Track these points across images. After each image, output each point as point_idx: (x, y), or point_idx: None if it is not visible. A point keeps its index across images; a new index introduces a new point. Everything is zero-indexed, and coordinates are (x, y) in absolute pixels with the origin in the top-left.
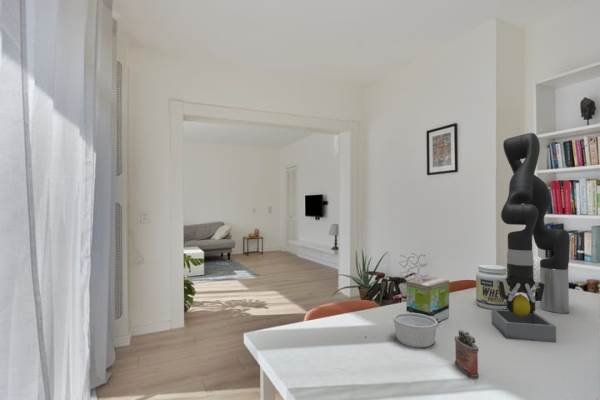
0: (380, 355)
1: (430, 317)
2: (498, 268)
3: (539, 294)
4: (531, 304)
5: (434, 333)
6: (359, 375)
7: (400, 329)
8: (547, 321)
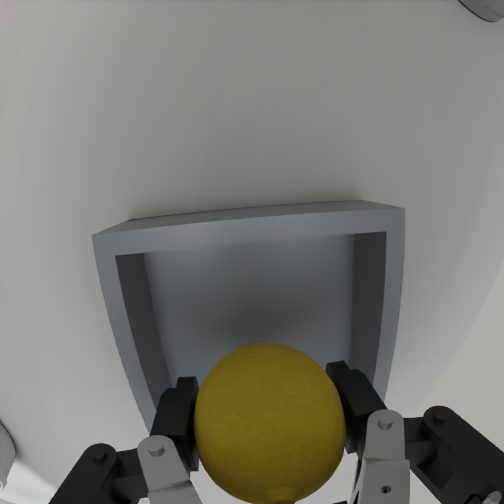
0: None
1: None
2: None
3: (436, 487)
4: (346, 441)
5: (8, 468)
6: (8, 494)
7: None
8: (382, 383)
